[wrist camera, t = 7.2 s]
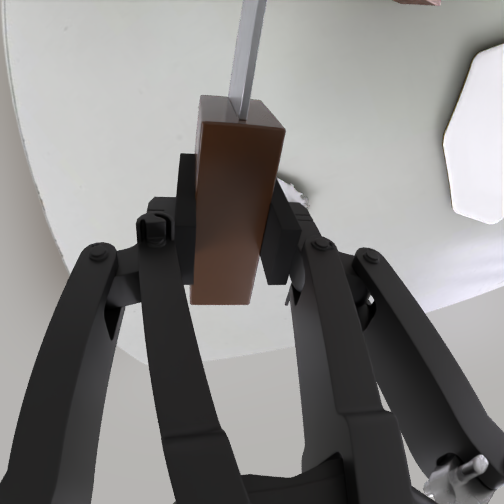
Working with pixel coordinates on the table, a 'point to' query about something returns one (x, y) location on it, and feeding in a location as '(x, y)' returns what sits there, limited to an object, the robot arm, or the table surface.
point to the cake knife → (234, 176)
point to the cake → (420, 2)
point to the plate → (478, 140)
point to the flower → (292, 193)
